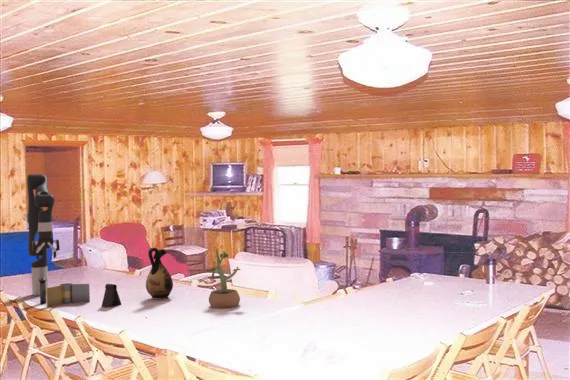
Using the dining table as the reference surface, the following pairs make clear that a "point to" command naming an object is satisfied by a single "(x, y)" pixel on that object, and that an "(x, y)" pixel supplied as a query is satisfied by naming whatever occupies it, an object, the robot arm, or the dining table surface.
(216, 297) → the potted plant
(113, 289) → the phone stand
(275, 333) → the dining table surface
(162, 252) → the ceramic jug
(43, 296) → the hinge pin
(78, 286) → the hinge
